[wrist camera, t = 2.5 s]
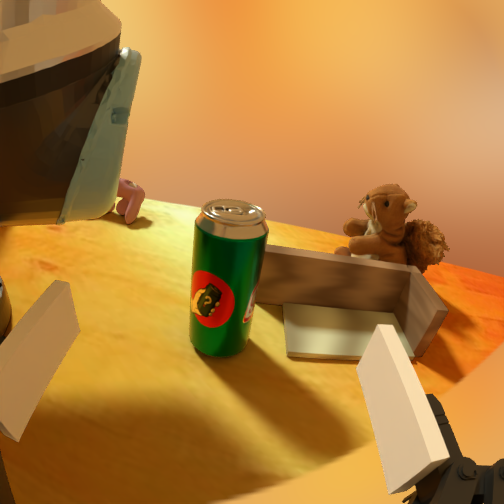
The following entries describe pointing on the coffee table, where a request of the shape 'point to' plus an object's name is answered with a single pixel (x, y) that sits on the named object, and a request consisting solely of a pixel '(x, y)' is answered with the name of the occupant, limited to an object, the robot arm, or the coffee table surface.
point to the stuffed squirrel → (393, 231)
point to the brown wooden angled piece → (347, 302)
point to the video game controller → (129, 200)
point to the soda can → (225, 275)
